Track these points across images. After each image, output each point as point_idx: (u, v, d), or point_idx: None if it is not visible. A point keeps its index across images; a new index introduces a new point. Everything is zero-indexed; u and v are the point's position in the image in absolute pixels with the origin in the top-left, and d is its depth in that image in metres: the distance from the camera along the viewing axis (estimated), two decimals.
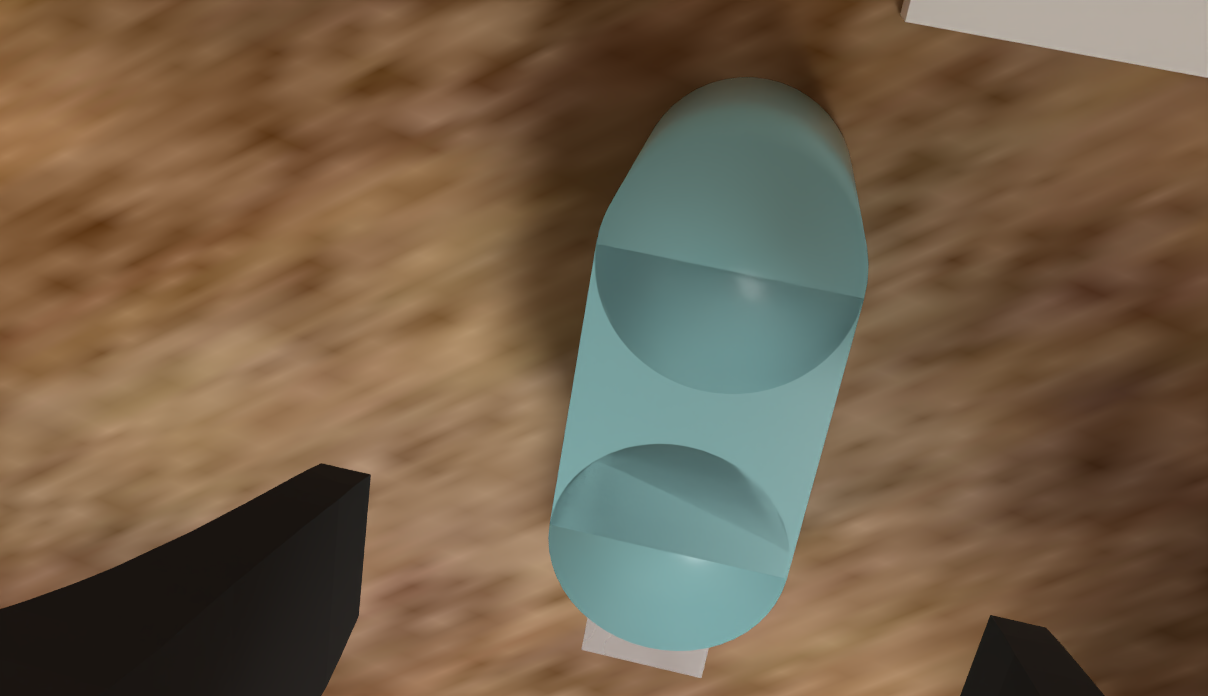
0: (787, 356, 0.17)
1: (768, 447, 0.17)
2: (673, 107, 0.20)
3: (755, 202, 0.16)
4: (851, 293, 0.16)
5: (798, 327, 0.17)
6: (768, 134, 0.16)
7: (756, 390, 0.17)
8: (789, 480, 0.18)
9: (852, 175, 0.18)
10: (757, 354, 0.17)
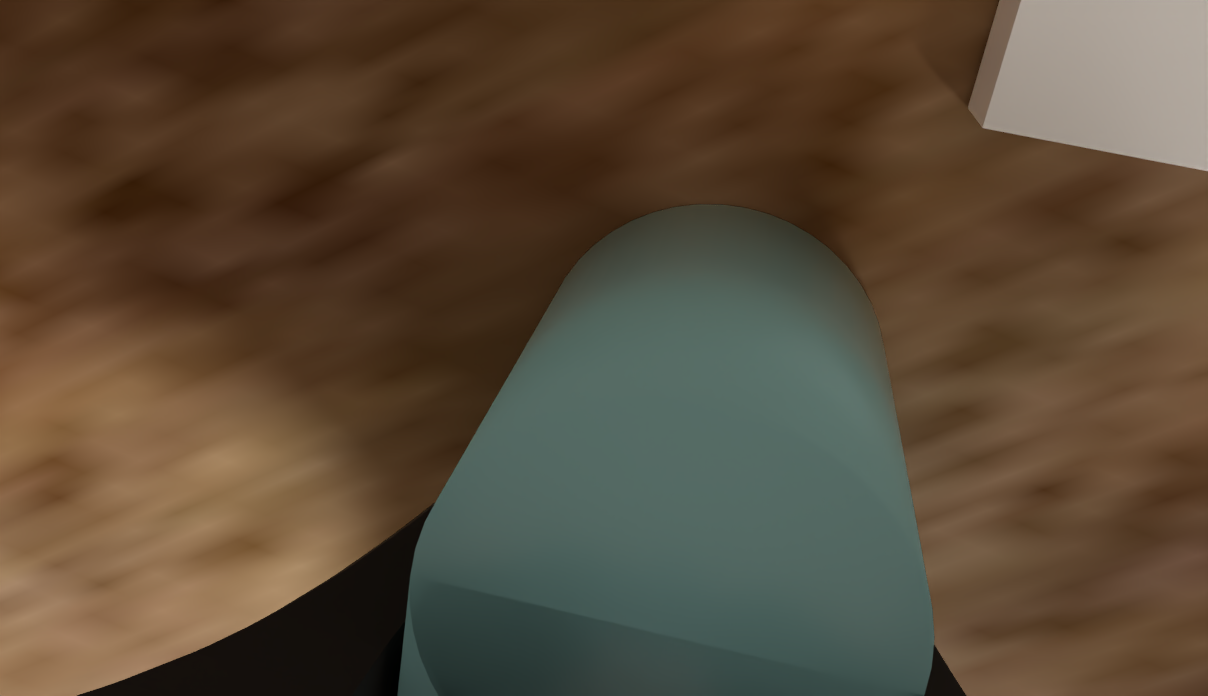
0: None
1: None
2: (591, 253, 0.12)
3: (713, 519, 0.08)
4: (899, 685, 0.08)
5: None
6: (736, 386, 0.08)
7: None
8: None
9: (890, 395, 0.11)
10: None
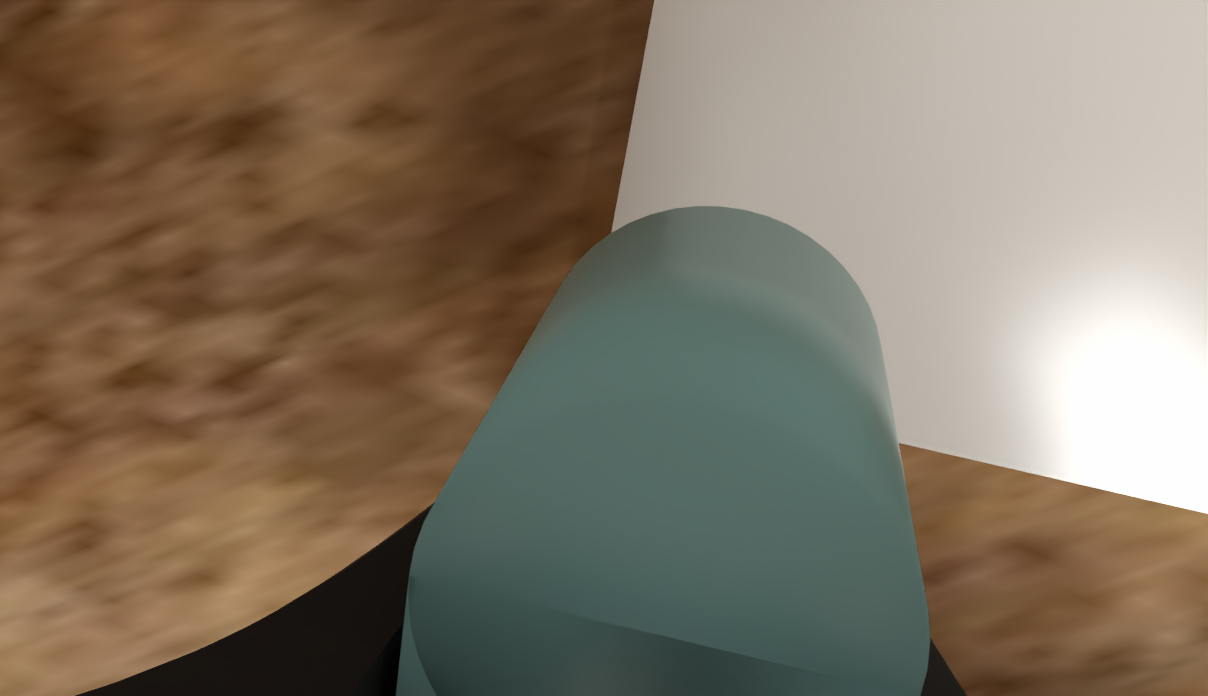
0: None
1: None
2: (590, 255, 0.12)
3: (710, 521, 0.08)
4: (895, 686, 0.08)
5: None
6: (734, 389, 0.08)
7: None
8: None
9: (888, 398, 0.11)
10: None
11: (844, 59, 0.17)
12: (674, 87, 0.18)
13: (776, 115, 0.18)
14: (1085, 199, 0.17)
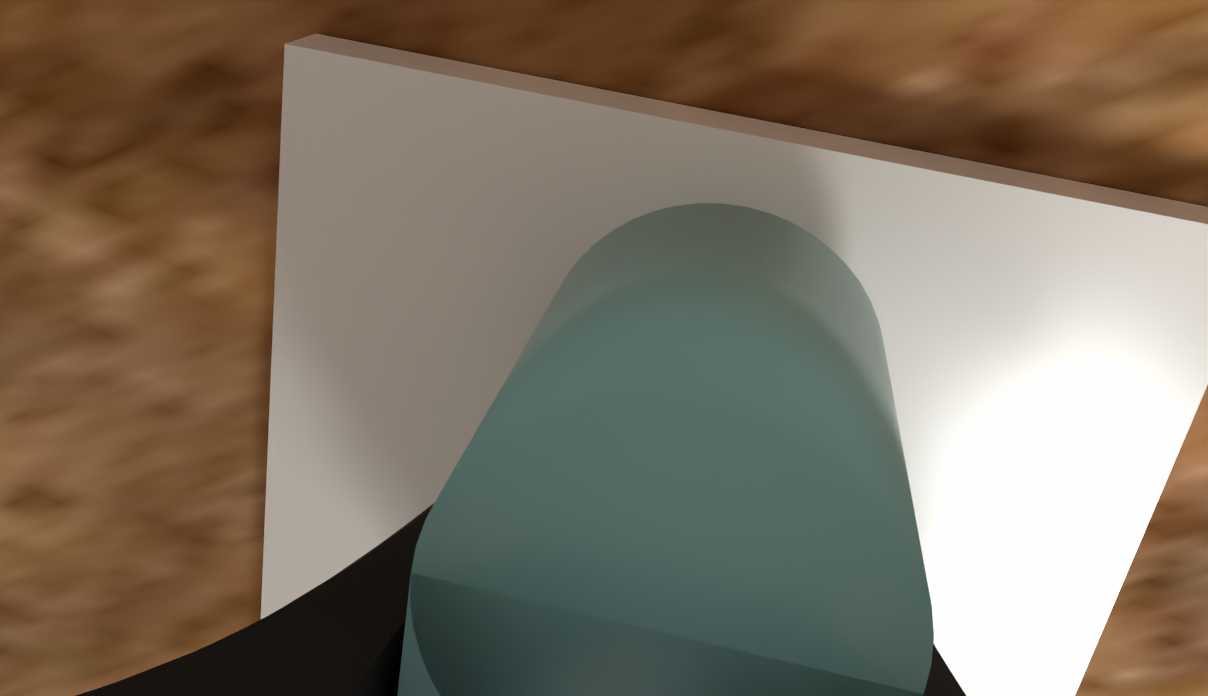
0: None
1: None
2: (592, 252, 0.12)
3: (713, 518, 0.08)
4: (899, 683, 0.08)
5: None
6: (737, 385, 0.08)
7: None
8: None
9: (891, 394, 0.11)
10: None
11: None
12: (302, 509, 0.17)
13: None
14: None
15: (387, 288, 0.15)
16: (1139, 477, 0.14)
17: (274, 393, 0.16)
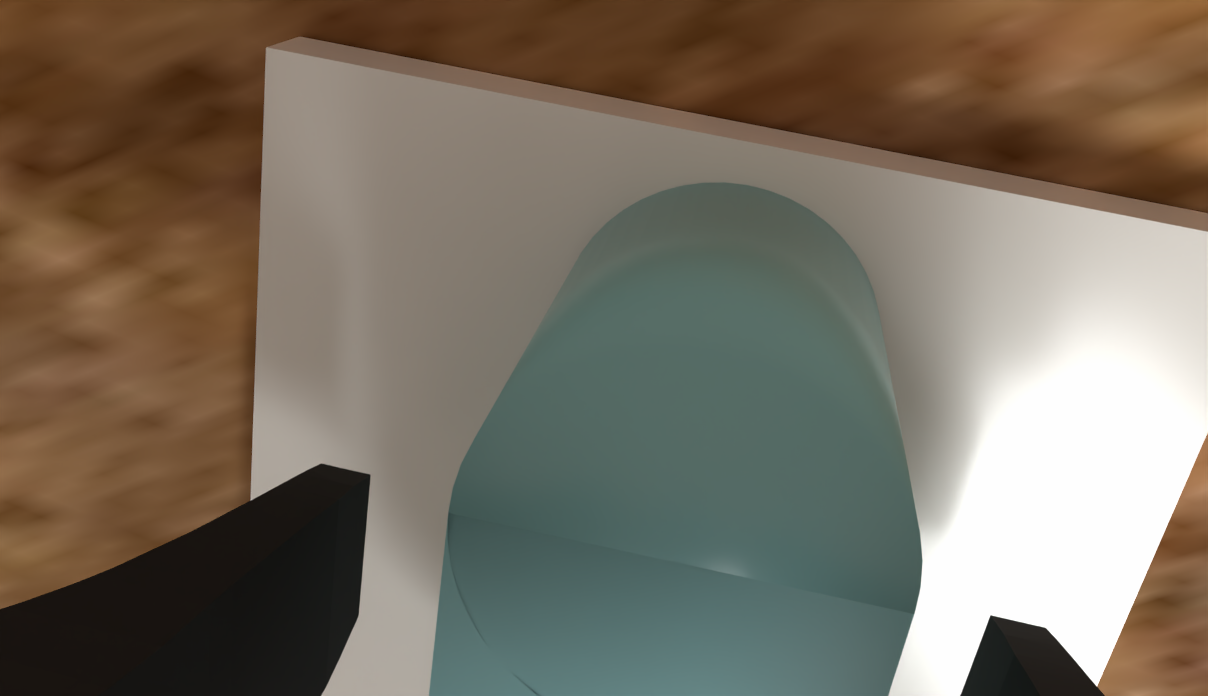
0: None
1: None
2: (605, 229, 0.13)
3: (721, 453, 0.09)
4: (892, 605, 0.09)
5: (799, 654, 0.10)
6: (741, 335, 0.09)
7: None
8: None
9: (884, 353, 0.12)
10: (731, 691, 0.10)
11: None
12: None
13: (398, 558, 0.16)
14: None
15: (373, 299, 0.14)
16: (1150, 495, 0.14)
17: (258, 407, 0.15)
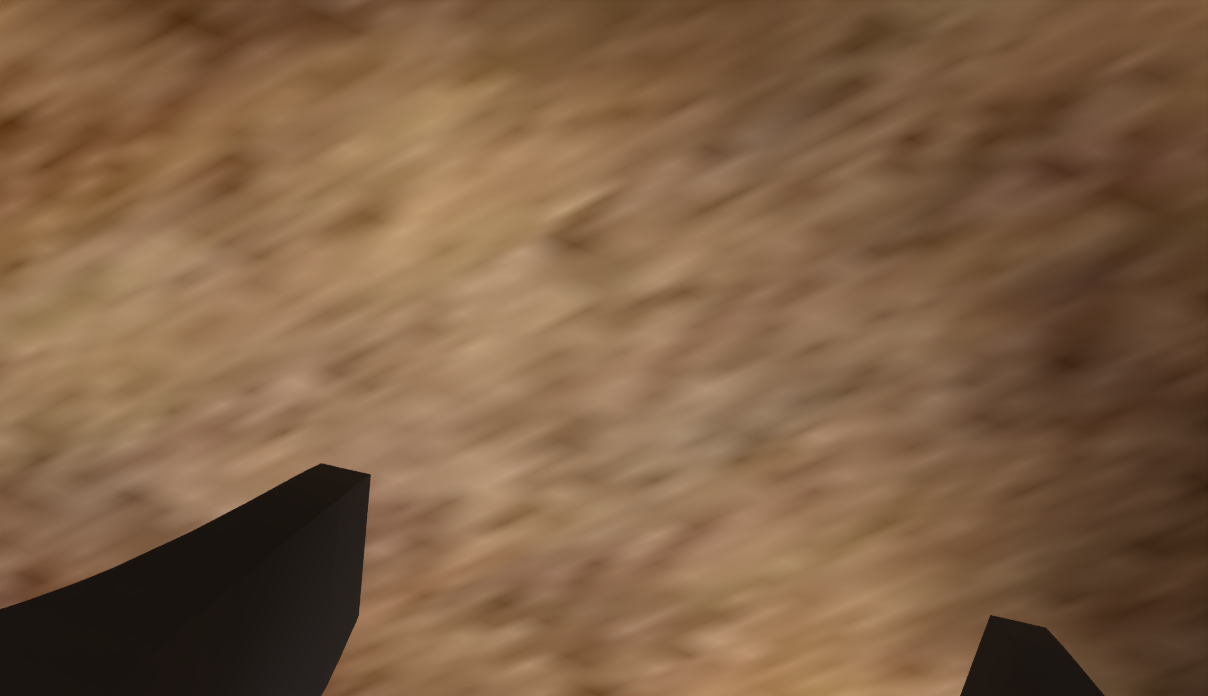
0: None
1: None
2: None
3: None
4: None
5: None
6: None
7: None
8: None
9: None
10: None
11: None
12: None
13: None
14: None
15: None
16: None
17: None
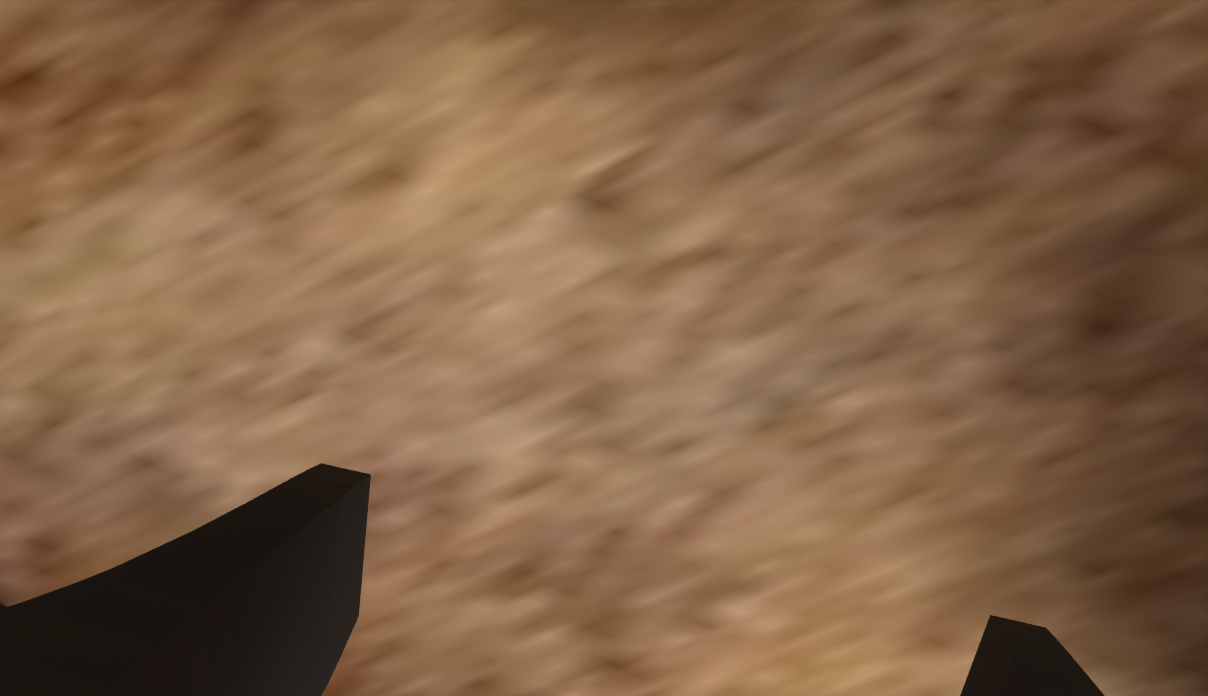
0: None
1: None
2: None
3: None
4: None
5: None
6: None
7: None
8: None
9: None
10: None
11: None
12: None
13: None
14: None
15: None
16: None
17: None
